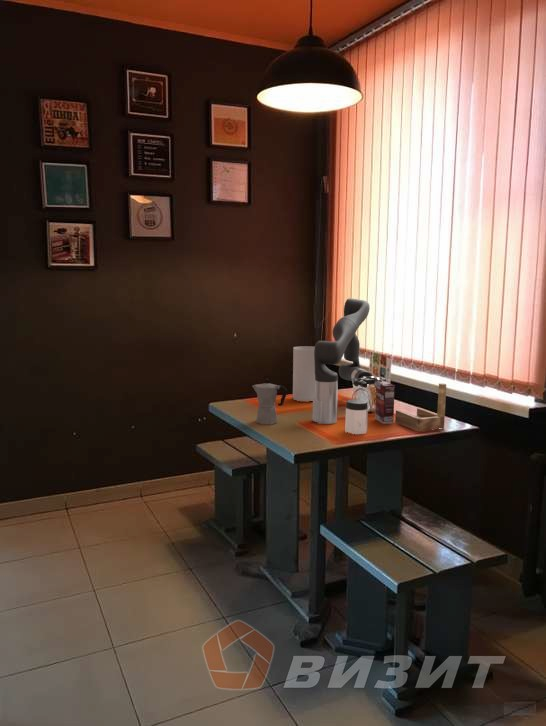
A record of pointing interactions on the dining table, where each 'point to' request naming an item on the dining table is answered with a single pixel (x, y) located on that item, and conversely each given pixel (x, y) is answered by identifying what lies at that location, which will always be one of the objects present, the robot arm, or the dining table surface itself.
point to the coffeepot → (268, 401)
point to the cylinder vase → (303, 373)
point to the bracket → (425, 415)
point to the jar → (356, 416)
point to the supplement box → (384, 402)
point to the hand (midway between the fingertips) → (375, 384)
